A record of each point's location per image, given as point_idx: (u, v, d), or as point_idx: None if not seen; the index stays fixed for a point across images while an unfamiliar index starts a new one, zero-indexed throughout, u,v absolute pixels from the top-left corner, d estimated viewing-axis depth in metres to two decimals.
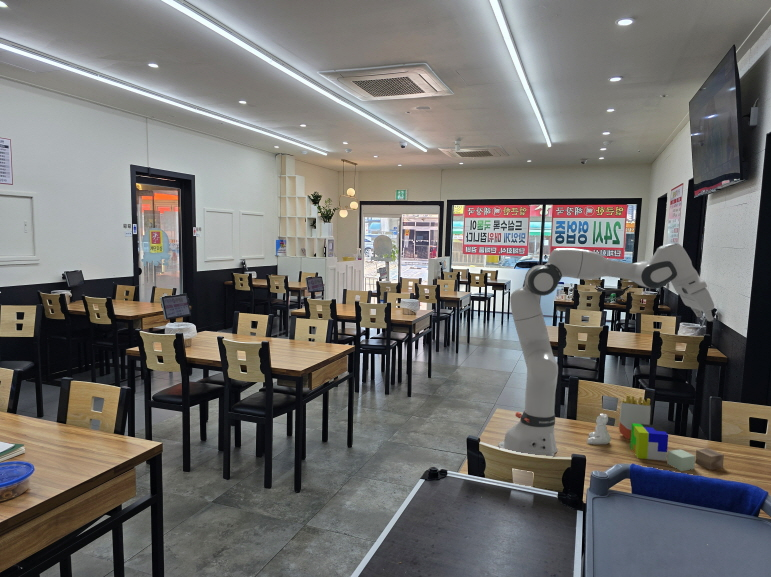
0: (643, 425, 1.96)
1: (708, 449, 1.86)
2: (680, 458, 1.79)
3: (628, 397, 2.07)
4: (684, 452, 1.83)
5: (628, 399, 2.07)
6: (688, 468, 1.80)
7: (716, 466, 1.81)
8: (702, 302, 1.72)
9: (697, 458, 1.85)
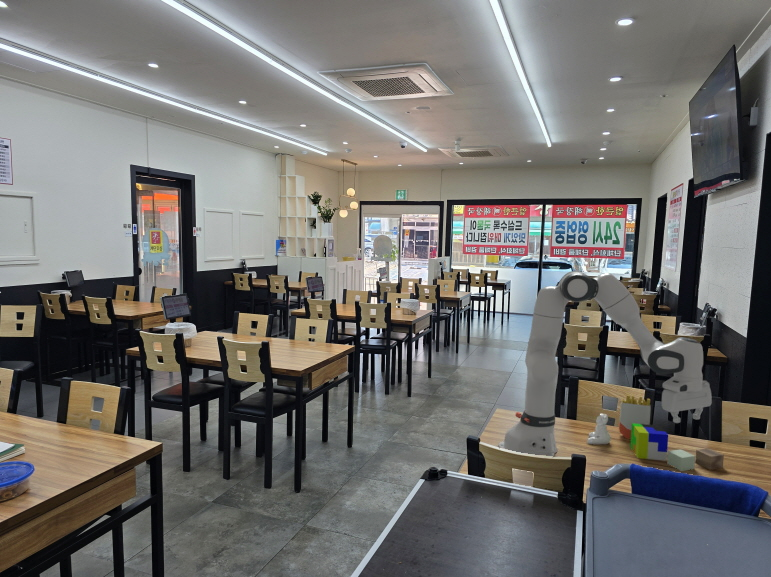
0: (643, 425, 1.96)
1: (708, 449, 1.86)
2: (680, 458, 1.79)
3: (628, 397, 2.07)
4: (684, 452, 1.83)
5: (628, 399, 2.07)
6: (688, 468, 1.80)
7: (716, 466, 1.81)
8: (663, 400, 1.78)
9: (697, 458, 1.85)
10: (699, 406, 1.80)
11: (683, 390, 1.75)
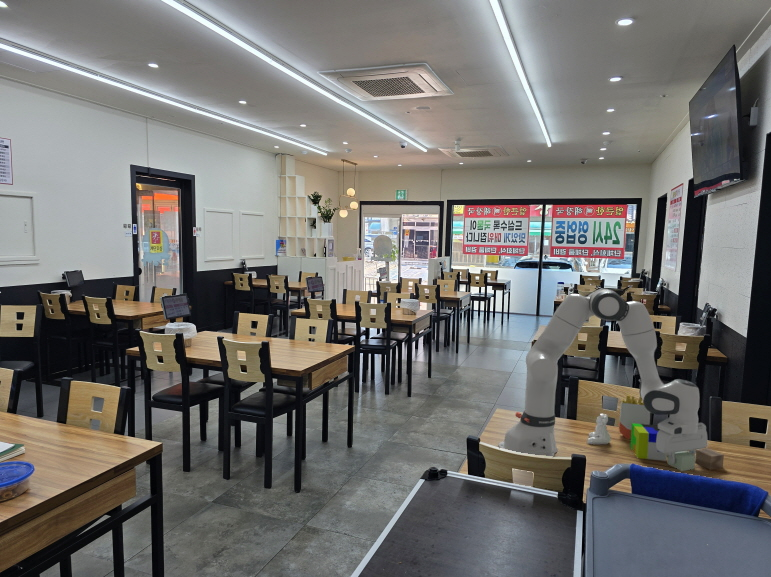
0: (643, 425, 1.96)
1: (708, 449, 1.86)
2: (681, 458, 1.79)
3: (628, 397, 2.07)
4: (684, 452, 1.83)
5: (628, 399, 2.07)
6: (688, 468, 1.80)
7: (716, 466, 1.81)
8: (658, 441, 1.80)
9: (697, 458, 1.85)
10: (694, 448, 1.81)
11: (677, 432, 1.76)
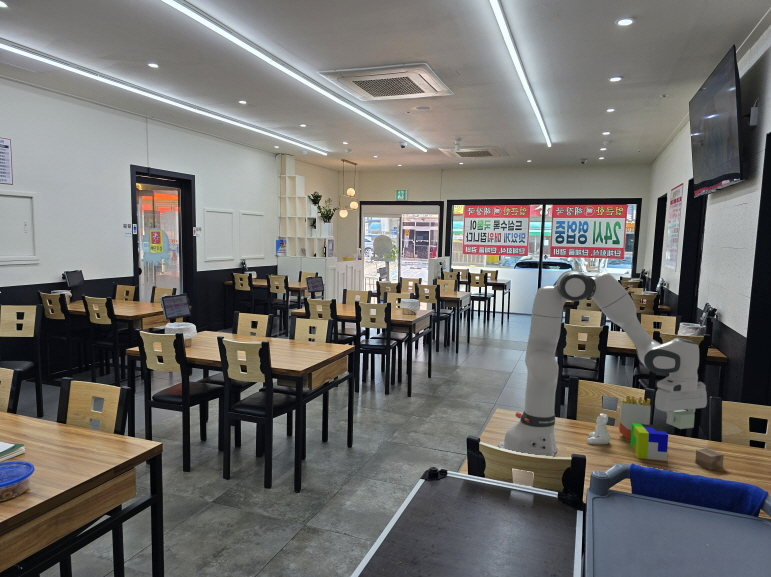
0: (643, 425, 1.96)
1: (708, 449, 1.86)
2: (680, 416, 1.78)
3: (628, 397, 2.07)
4: (683, 411, 1.82)
5: (628, 399, 2.07)
6: (687, 426, 1.79)
7: (716, 466, 1.81)
8: (657, 399, 1.79)
9: (697, 458, 1.85)
10: (693, 407, 1.81)
11: (677, 390, 1.76)
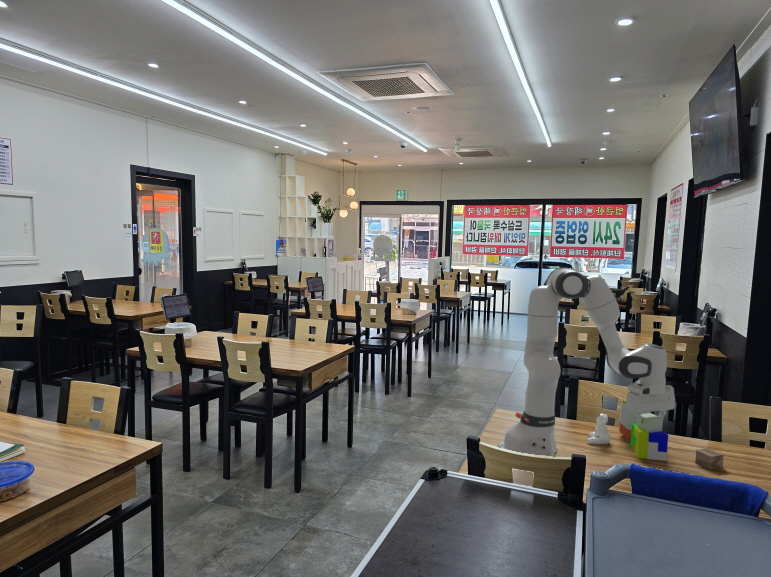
0: None
1: (708, 449, 1.86)
2: (648, 420, 1.88)
3: None
4: (653, 415, 1.93)
5: None
6: (656, 430, 1.89)
7: (716, 466, 1.81)
8: (627, 402, 1.89)
9: (697, 458, 1.85)
10: (662, 409, 1.91)
11: (645, 393, 1.86)
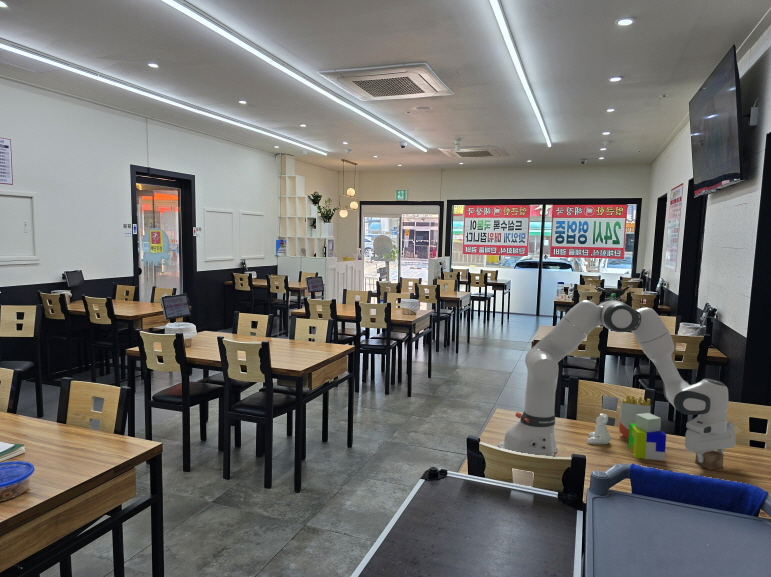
0: None
1: None
2: (647, 420, 1.89)
3: (628, 397, 2.07)
4: (651, 415, 1.93)
5: (628, 399, 2.07)
6: (654, 429, 1.89)
7: (716, 466, 1.81)
8: (687, 440, 1.81)
9: (697, 458, 1.85)
10: (722, 447, 1.83)
11: (707, 431, 1.78)
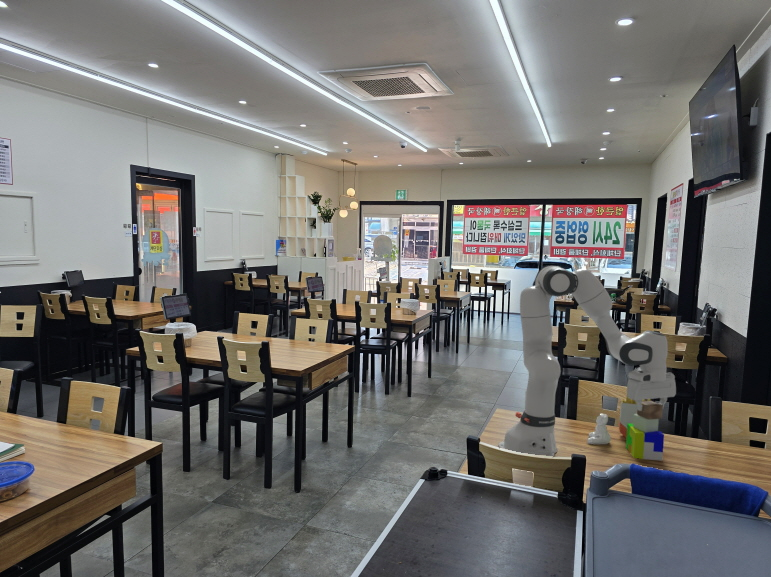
0: None
1: (649, 401, 1.94)
2: (644, 420, 1.89)
3: None
4: None
5: (628, 399, 2.07)
6: (652, 429, 1.89)
7: (656, 416, 1.89)
8: (628, 389, 1.89)
9: None
10: (663, 396, 1.90)
11: (646, 380, 1.86)
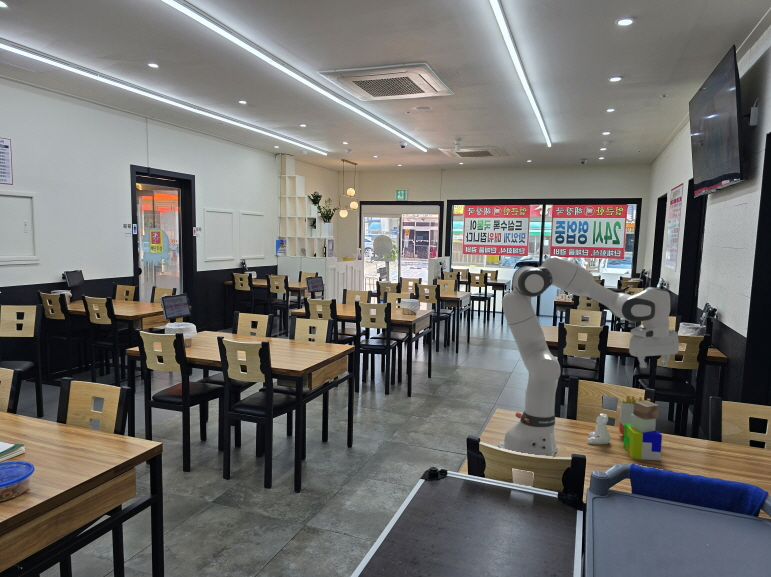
0: None
1: (645, 401, 1.94)
2: (642, 420, 1.89)
3: (628, 397, 2.07)
4: None
5: (628, 399, 2.07)
6: (649, 430, 1.90)
7: (652, 416, 1.89)
8: (630, 346, 1.87)
9: (635, 409, 1.93)
10: (666, 353, 1.89)
11: (649, 335, 1.84)
